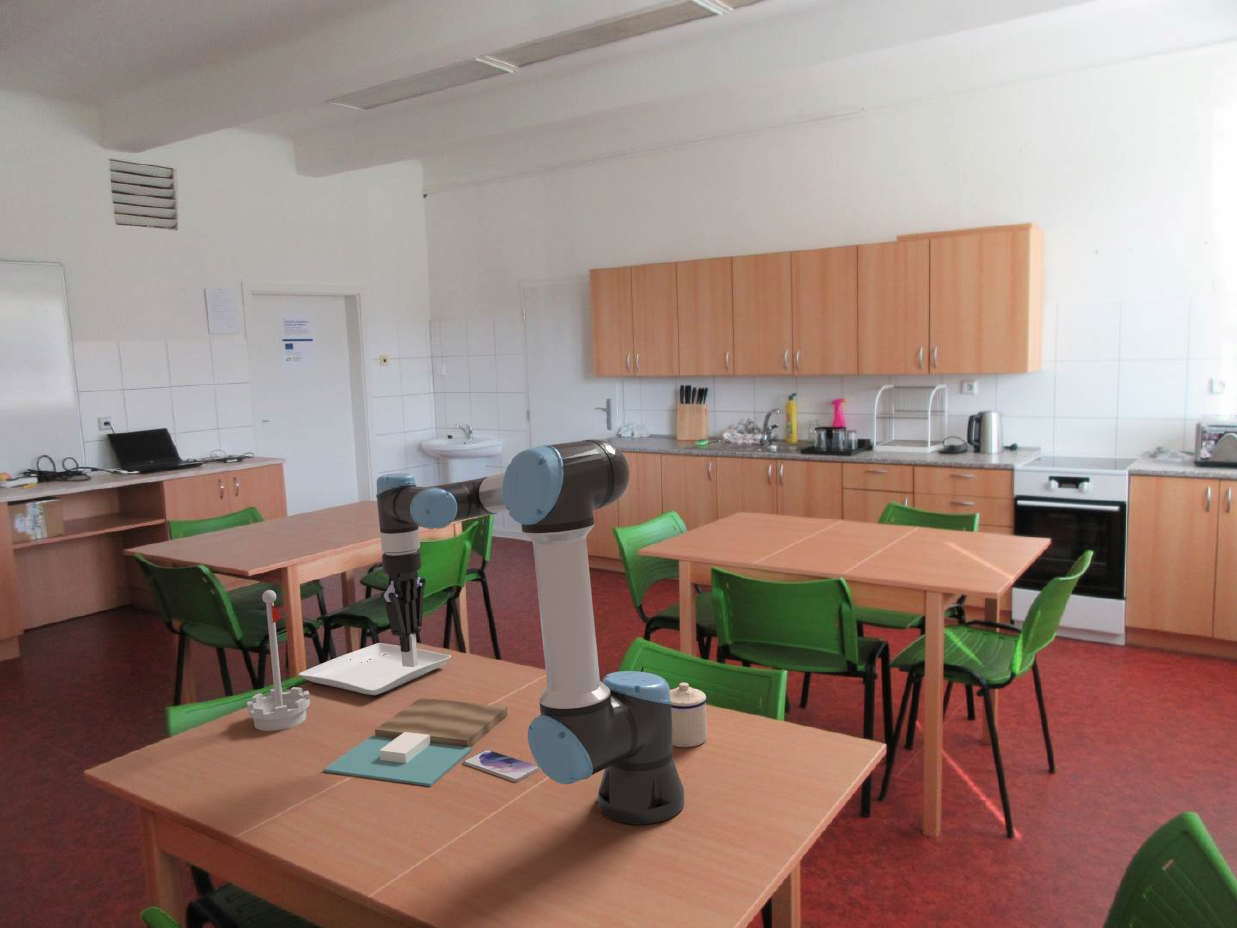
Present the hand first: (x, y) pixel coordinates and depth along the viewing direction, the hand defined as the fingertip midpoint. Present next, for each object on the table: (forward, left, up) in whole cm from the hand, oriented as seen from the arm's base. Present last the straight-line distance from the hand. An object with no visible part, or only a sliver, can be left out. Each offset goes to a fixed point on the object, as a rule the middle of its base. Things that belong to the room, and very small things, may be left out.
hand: (410, 665), depth 186 cm
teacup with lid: (+18, -51, -18) cm, 57 cm away
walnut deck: (+11, 0, -18) cm, 21 cm away
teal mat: (-6, 0, -18) cm, 19 cm away
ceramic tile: (-3, +1, -17) cm, 17 cm away
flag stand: (+5, +38, -18) cm, 42 cm away
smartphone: (-3, -21, -18) cm, 28 cm away
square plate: (+35, +33, -18) cm, 52 cm away
